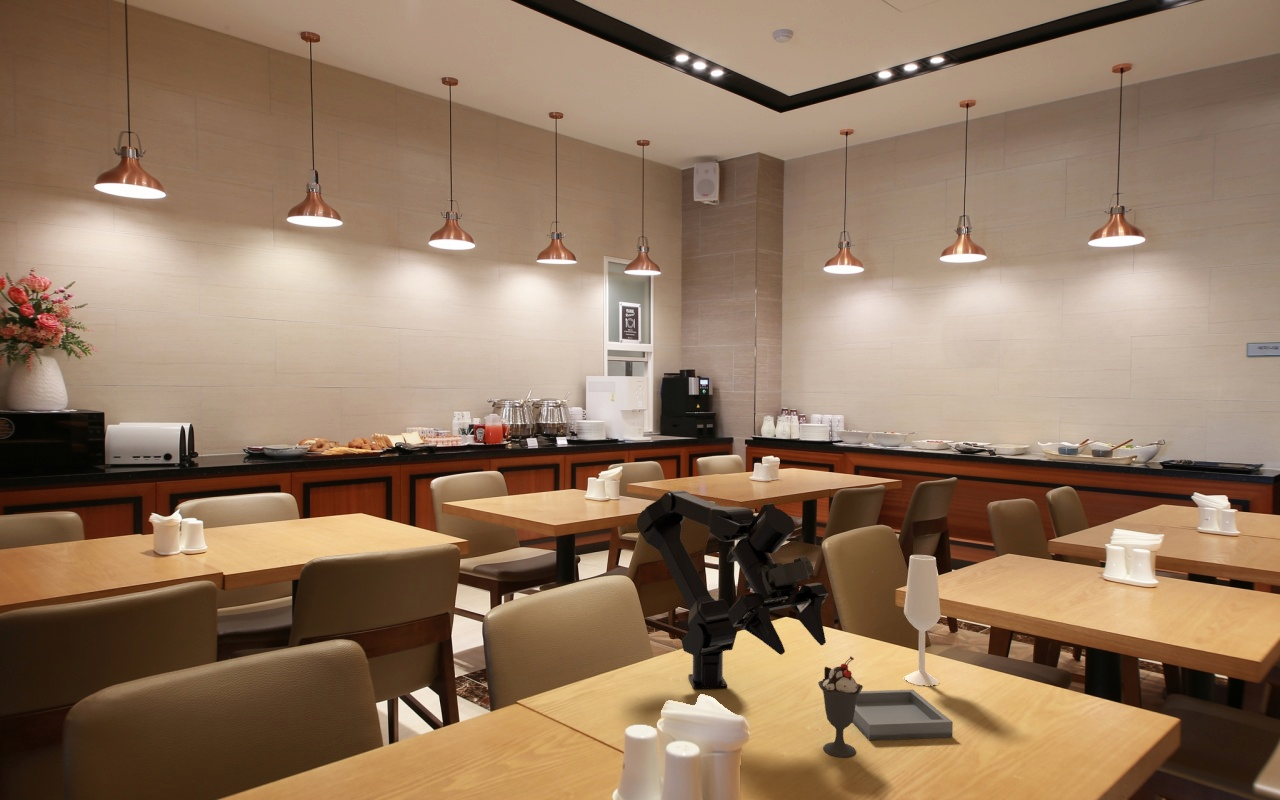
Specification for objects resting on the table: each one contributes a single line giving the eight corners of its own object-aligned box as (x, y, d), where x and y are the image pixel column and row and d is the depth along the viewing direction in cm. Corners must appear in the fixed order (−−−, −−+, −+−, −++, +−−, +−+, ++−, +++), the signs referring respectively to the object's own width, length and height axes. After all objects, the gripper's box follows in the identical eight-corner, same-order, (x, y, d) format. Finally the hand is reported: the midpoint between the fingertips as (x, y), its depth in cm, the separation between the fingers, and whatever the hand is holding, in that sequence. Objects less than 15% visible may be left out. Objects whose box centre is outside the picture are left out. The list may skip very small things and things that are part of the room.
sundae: (864, 762, 117) (864, 662, 117) (818, 757, 118) (819, 659, 118) (860, 743, 123) (861, 648, 123) (817, 739, 125) (818, 645, 125)
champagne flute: (902, 683, 149) (903, 559, 149) (904, 672, 156) (905, 552, 156) (939, 688, 147) (940, 562, 147) (940, 677, 153) (941, 555, 153)
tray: (837, 705, 138) (837, 691, 138) (913, 703, 140) (913, 689, 140) (869, 740, 124) (869, 724, 124) (952, 737, 126) (952, 721, 126)
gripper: (739, 546, 127) (786, 631, 118) (821, 536, 137) (870, 614, 128) (709, 584, 133) (751, 668, 124) (789, 572, 144) (833, 648, 134)
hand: (803, 648), depth 127 cm, fingers open, 9 cm apart
